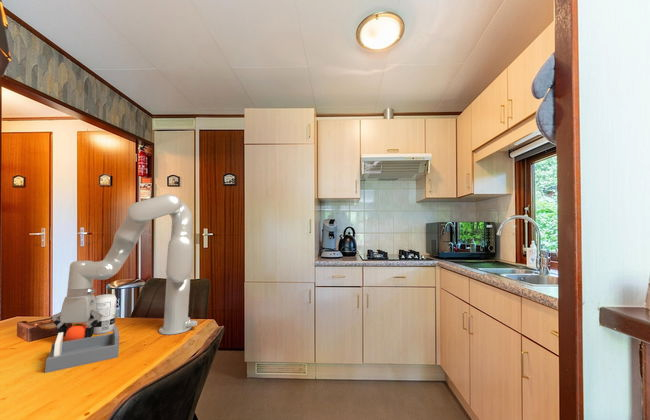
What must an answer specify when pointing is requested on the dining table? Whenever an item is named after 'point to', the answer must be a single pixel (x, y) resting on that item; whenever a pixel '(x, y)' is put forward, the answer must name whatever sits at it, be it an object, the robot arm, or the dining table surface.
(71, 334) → the clementine
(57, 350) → the pusher
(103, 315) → the supplement can
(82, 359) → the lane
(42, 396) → the dining table surface
